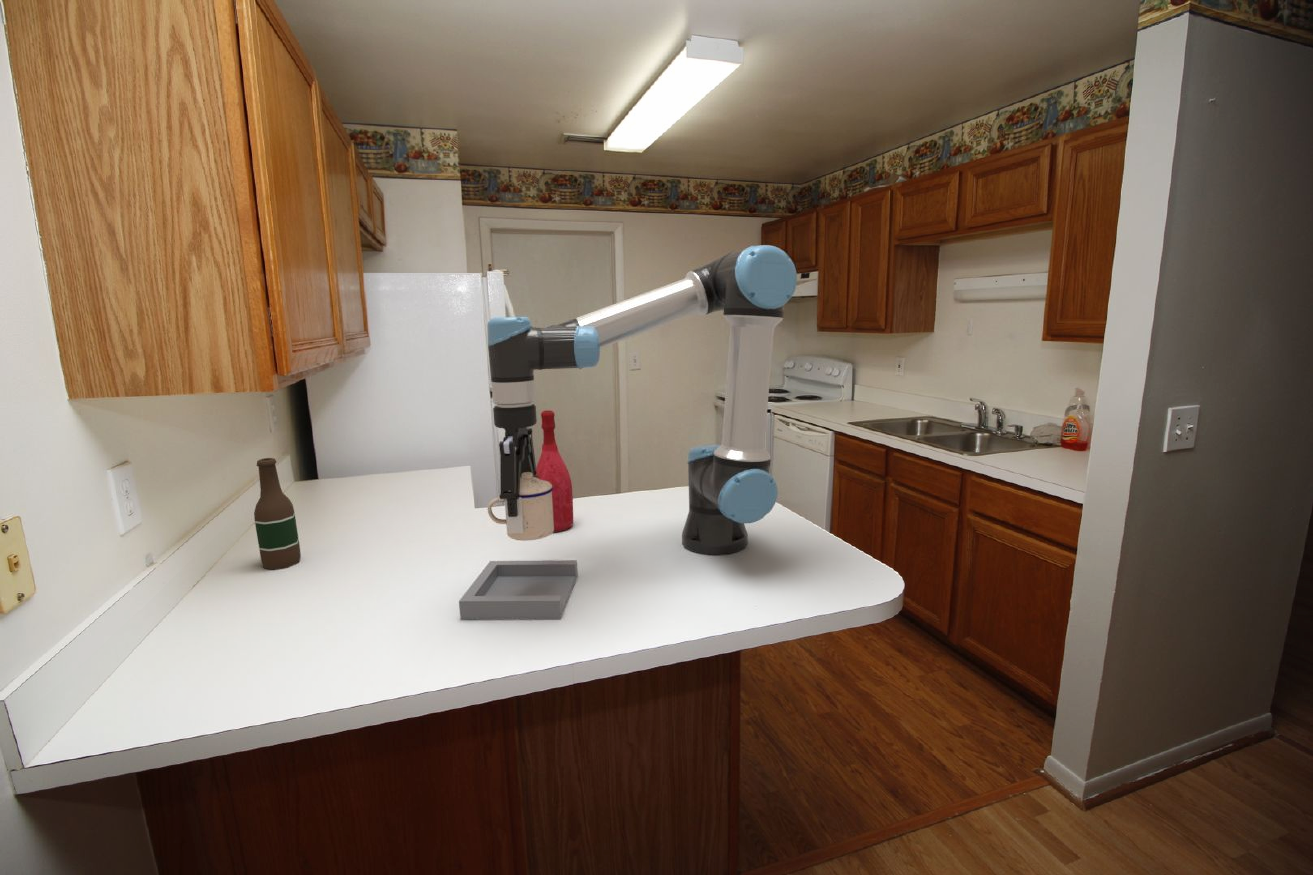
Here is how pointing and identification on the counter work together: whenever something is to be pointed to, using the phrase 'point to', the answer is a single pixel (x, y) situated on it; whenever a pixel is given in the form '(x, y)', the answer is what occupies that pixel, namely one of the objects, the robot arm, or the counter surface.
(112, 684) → the counter surface
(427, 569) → the counter surface
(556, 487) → the wine bottle
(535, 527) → the teacup with lid
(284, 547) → the beer bottle
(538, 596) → the shallow gray tray
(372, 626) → the counter surface
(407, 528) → the counter surface
